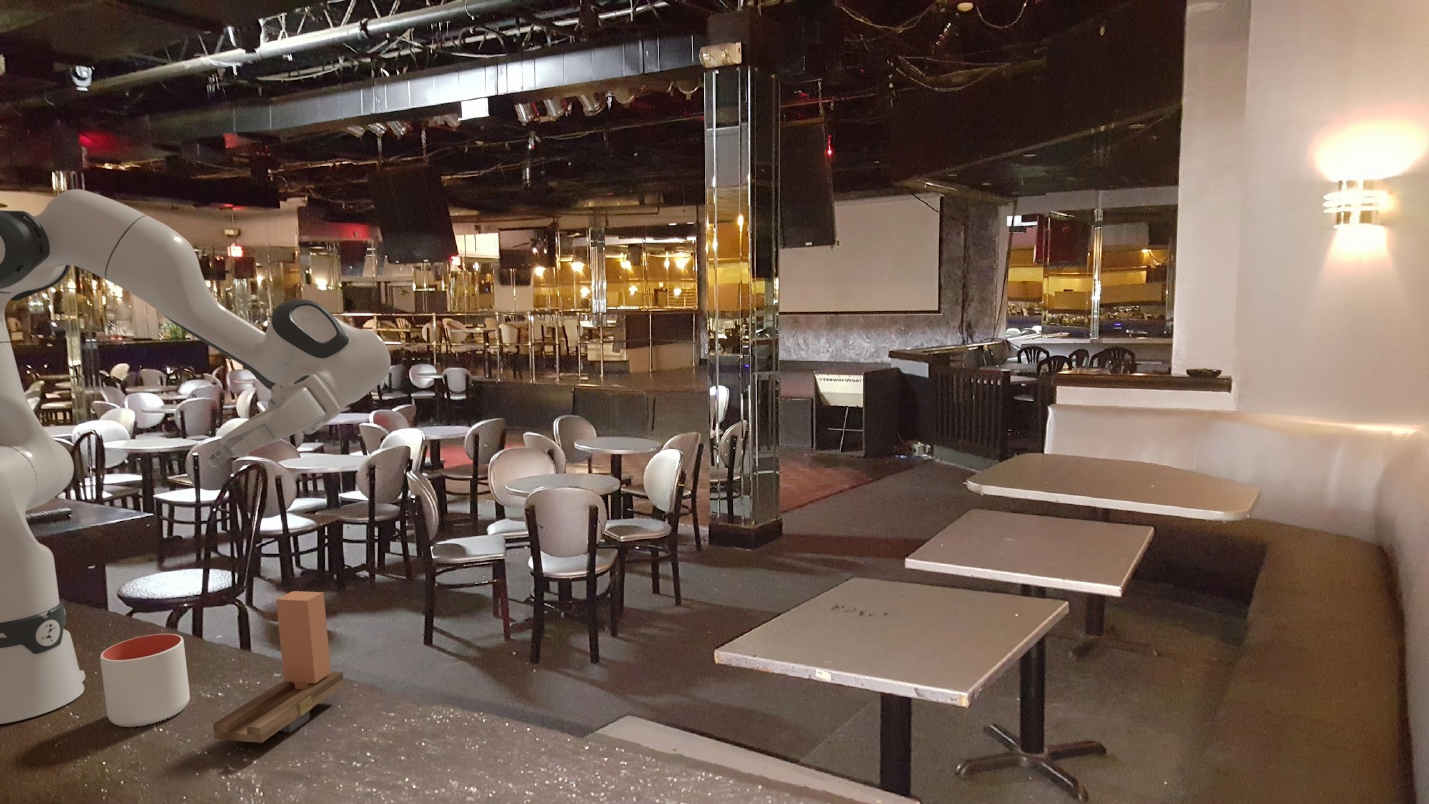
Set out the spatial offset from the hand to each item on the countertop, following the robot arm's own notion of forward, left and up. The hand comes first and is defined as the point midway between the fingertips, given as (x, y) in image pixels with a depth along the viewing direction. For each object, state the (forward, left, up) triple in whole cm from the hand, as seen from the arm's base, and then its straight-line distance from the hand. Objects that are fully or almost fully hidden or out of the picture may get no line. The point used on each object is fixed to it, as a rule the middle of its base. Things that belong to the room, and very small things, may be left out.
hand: (222, 458), depth 125 cm
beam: (+9, -4, -36) cm, 38 cm away
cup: (-13, -4, -37) cm, 39 cm away
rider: (+9, +2, -33) cm, 35 cm away
